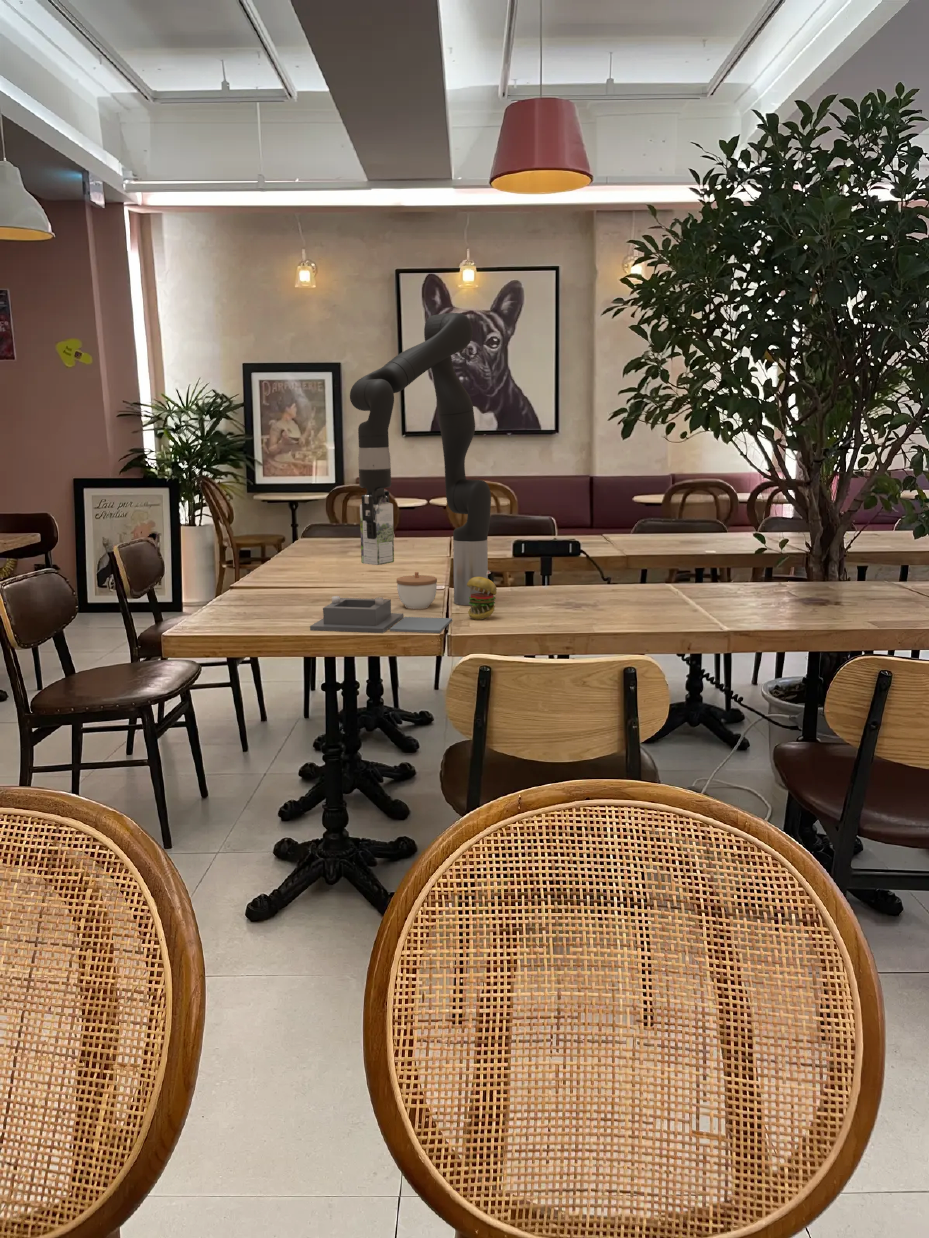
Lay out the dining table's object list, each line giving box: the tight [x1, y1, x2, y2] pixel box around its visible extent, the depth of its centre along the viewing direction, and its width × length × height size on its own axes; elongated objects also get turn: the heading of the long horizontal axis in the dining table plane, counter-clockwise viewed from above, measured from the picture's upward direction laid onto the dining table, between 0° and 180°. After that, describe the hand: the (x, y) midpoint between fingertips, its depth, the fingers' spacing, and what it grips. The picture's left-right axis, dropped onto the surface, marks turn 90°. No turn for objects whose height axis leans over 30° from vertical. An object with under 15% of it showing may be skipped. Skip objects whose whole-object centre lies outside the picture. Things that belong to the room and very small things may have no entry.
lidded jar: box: [396, 571, 438, 610], centre depth 240 cm, size 11×11×9 cm
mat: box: [389, 616, 453, 634], centre depth 217 cm, size 14×12×1 cm
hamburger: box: [467, 569, 498, 621], centre depth 225 cm, size 8×7×12 cm
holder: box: [309, 595, 405, 634], centre depth 220 cm, size 18×18×6 cm
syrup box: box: [359, 502, 395, 566], centre depth 215 cm, size 6×6×14 cm
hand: (377, 536), depth 216 cm, fingers closed on syrup box, 7 cm apart
